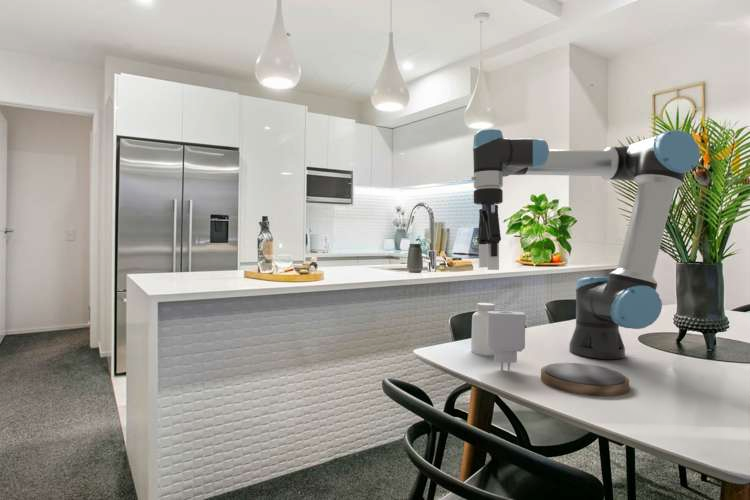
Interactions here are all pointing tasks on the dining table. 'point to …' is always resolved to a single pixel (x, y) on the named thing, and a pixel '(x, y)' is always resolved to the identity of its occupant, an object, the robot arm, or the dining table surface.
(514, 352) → the charger
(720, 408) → the dining table surface
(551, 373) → the round mirror
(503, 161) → the robot arm
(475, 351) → the pill bottle
